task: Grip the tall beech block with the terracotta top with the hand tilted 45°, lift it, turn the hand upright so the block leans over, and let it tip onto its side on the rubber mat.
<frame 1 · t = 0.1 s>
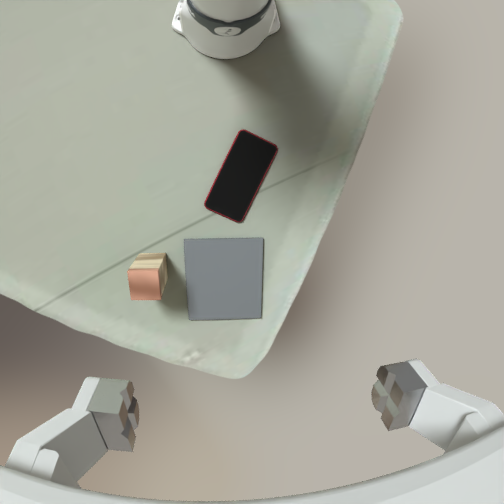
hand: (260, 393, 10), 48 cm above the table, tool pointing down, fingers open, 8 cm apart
beech block: (153, 266, 58), on the table
smartphone: (240, 175, 55), on the table
rubber mat: (224, 280, 60), on the table
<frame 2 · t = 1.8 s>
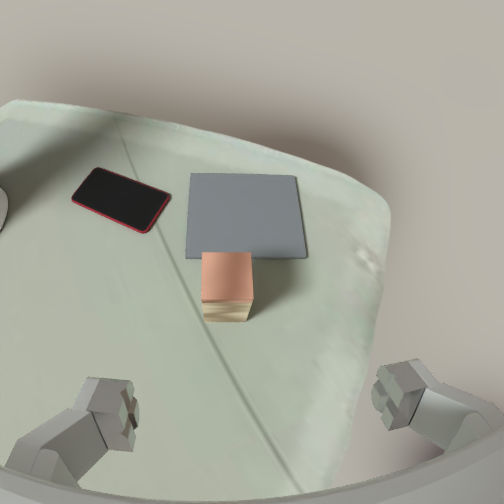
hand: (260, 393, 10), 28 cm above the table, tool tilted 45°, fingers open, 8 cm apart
beech block: (224, 302, 40), on the table
smartphone: (118, 200, 46), on the table
rubber mat: (244, 214, 46), on the table
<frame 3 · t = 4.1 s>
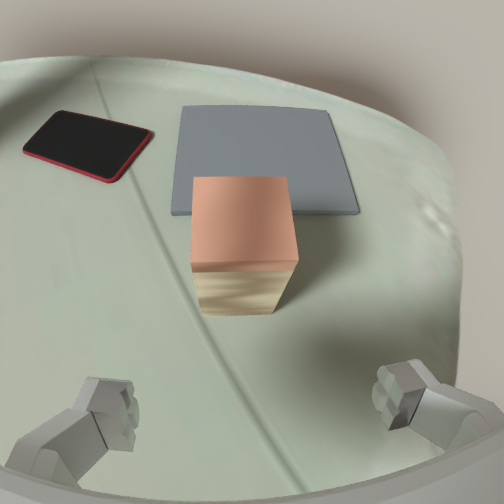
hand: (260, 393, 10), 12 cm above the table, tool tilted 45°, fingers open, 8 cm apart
beech block: (235, 282, 24), on the table
smartphone: (82, 145, 30), on the table
rubber mat: (261, 153, 30), on the table
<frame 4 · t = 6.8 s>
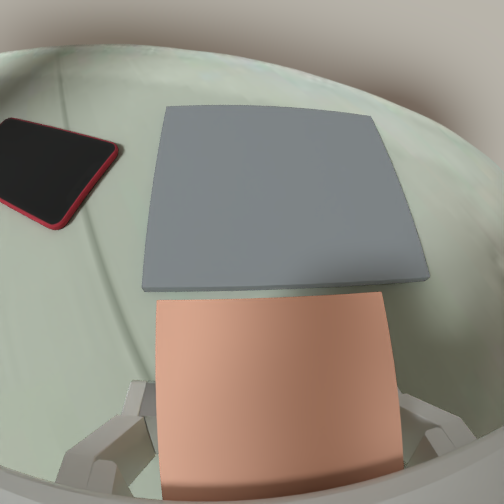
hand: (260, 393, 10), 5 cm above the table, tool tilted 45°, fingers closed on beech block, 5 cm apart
beech block: (249, 410, 14), on the table, touching gripper
smartphone: (28, 168, 20), on the table
rubber mat: (285, 181, 20), on the table
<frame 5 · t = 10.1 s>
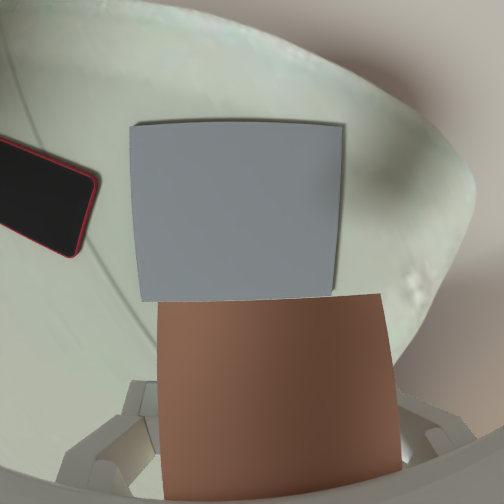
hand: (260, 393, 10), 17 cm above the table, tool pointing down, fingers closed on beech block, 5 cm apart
beech block: (248, 410, 14), point 14 cm above the table, tilted 45°, touching gripper
smartphone: (23, 189, 23), on the table
rubber mat: (236, 213, 25), on the table
when the fingers open (7 cm above the table, at t = 12.6 s): beech block moves 2 cm and tips over, resting on rubber mat.
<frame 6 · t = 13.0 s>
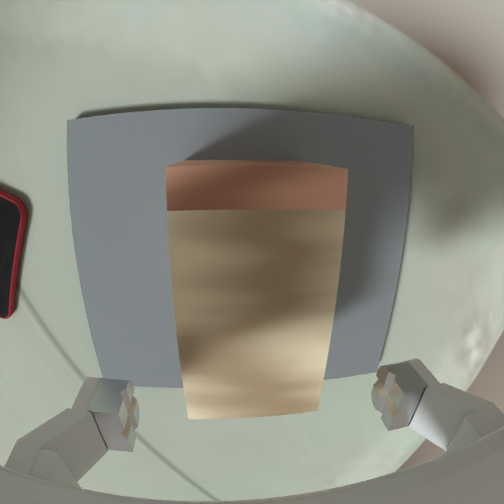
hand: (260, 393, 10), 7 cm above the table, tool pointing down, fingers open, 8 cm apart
beech block: (247, 377, 14), point 3 cm above the table, tilted 90°, touching rubber mat
rubber mat: (244, 263, 15), on the table
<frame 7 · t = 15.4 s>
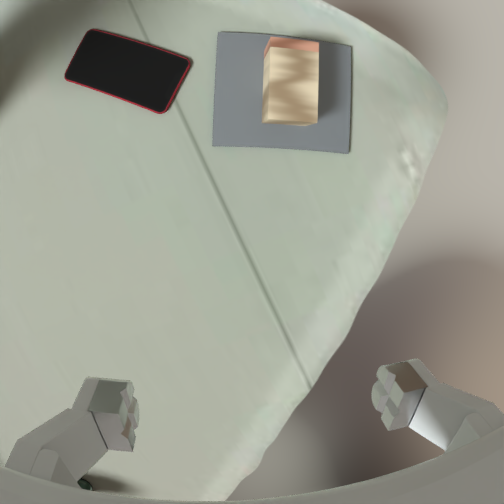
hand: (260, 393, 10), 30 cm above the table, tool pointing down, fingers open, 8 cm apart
beech block: (288, 122, 32), point 3 cm above the table, tilted 90°, touching rubber mat
smartphone: (125, 69, 32), on the table
rubber mat: (284, 90, 34), on the table
coffee jar: (74, 480, 53), on the table
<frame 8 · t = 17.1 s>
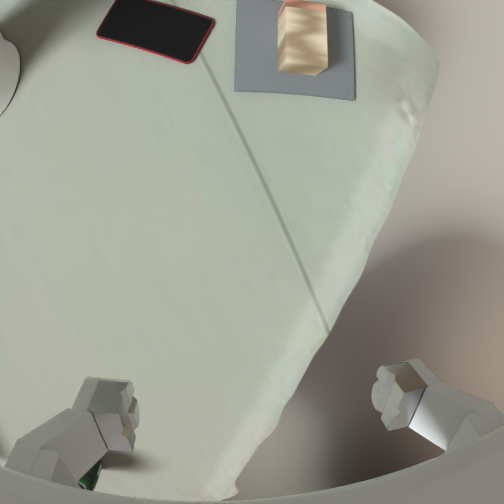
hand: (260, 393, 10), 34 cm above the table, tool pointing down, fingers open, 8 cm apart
beech block: (301, 69, 34), point 3 cm above the table, tilted 90°, touching rubber mat
smartphone: (153, 28, 34), on the table
rubber mat: (296, 46, 36), on the table
coffee jar: (83, 457, 55), on the table
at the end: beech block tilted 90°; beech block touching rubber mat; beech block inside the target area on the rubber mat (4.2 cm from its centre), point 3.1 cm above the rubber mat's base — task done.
